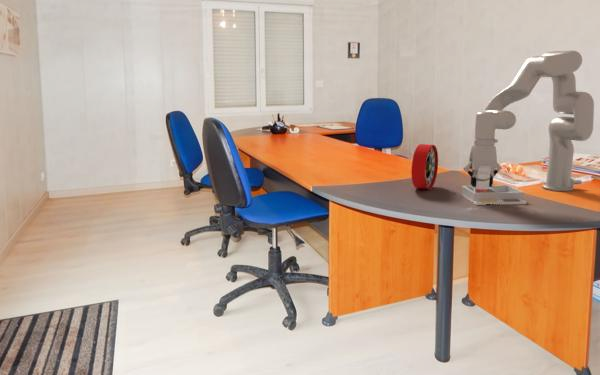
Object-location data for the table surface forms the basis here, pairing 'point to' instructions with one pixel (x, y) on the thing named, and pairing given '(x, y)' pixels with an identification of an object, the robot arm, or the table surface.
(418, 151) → the toy clock
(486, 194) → the divided tray
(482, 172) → the ink box
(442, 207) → the table surface
